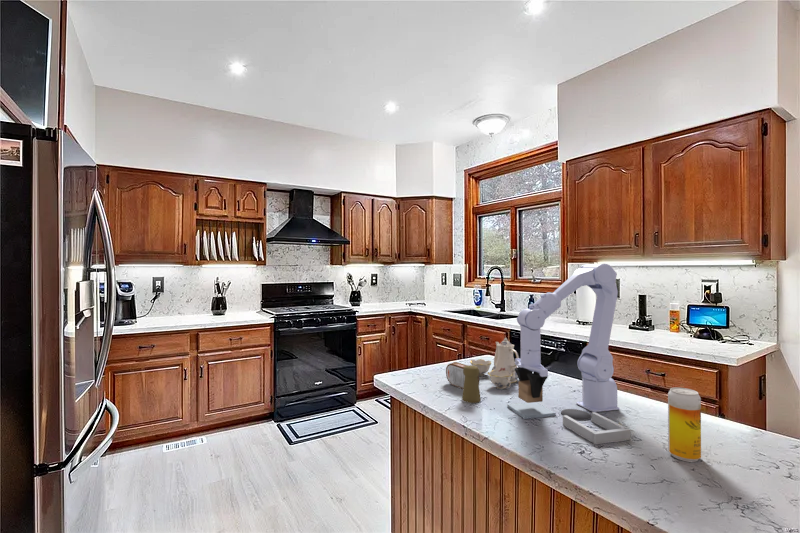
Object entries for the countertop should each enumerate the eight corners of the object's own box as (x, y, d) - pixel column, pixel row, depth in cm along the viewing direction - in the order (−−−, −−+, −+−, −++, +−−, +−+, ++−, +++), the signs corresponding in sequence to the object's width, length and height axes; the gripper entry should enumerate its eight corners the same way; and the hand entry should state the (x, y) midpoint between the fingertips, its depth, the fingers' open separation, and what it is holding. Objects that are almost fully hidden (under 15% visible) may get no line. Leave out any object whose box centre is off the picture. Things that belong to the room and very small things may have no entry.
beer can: (702, 465, 87) (702, 396, 87) (668, 458, 90) (668, 392, 90) (699, 454, 92) (699, 389, 92) (667, 448, 95) (667, 385, 95)
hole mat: (578, 408, 121) (578, 407, 121) (597, 418, 113) (597, 417, 113) (555, 411, 119) (555, 410, 119) (573, 421, 111) (573, 420, 111)
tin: (480, 392, 138) (479, 368, 138) (473, 394, 136) (473, 369, 136) (450, 382, 150) (450, 359, 150) (444, 383, 148) (444, 360, 148)
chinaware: (463, 376, 163) (459, 336, 163) (499, 369, 168) (495, 330, 168) (500, 398, 136) (495, 350, 136) (541, 388, 141) (536, 342, 141)
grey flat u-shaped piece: (595, 421, 112) (595, 412, 112) (630, 439, 100) (630, 429, 100) (562, 424, 109) (562, 415, 109) (595, 444, 97) (595, 434, 97)
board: (536, 404, 126) (536, 401, 126) (555, 415, 116) (555, 412, 116) (507, 406, 123) (507, 404, 123) (524, 418, 113) (524, 416, 113)
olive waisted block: (480, 403, 126) (480, 368, 126) (461, 402, 128) (461, 368, 128) (480, 397, 132) (480, 364, 132) (462, 396, 134) (462, 363, 134)
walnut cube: (533, 396, 122) (533, 379, 122) (542, 401, 118) (542, 384, 118) (518, 397, 121) (518, 381, 121) (527, 402, 116) (527, 385, 116)
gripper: (506, 345, 126) (506, 388, 126) (532, 355, 111) (532, 403, 111) (526, 344, 127) (526, 386, 127) (554, 353, 113) (554, 401, 113)
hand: (530, 394), depth 119 cm, fingers closed on walnut cube, 5 cm apart
